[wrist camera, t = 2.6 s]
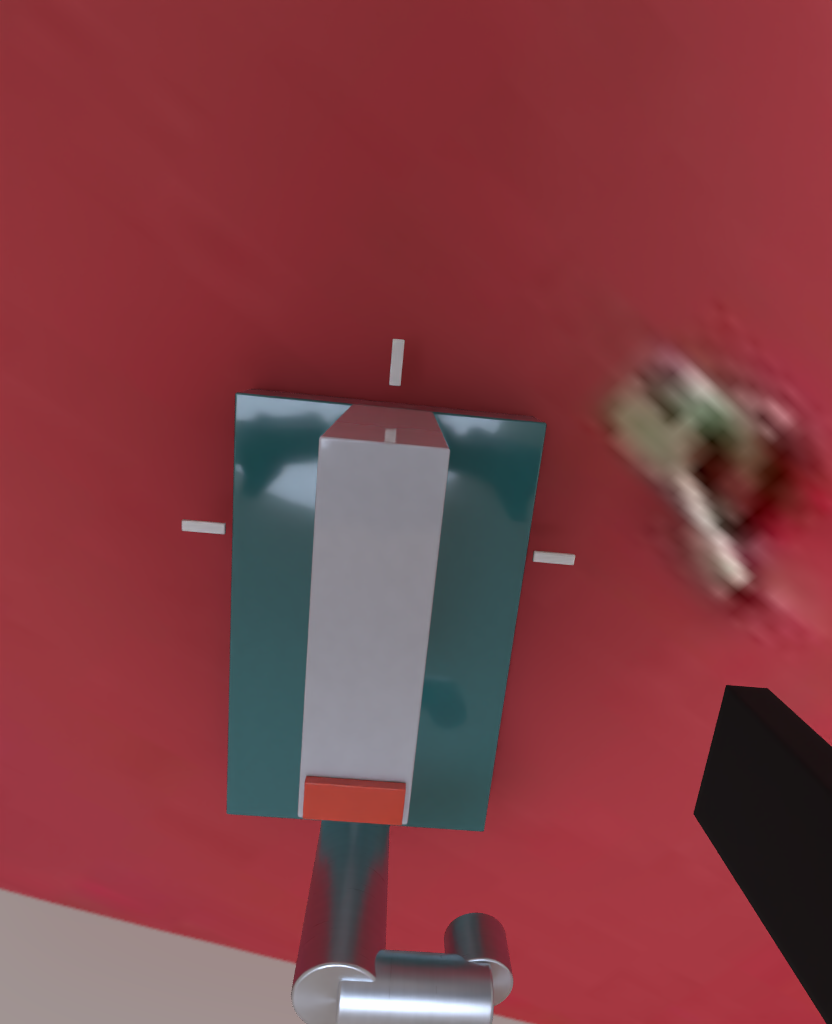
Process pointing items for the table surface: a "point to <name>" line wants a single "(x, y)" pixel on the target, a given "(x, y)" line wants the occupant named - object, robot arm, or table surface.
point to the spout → (362, 940)
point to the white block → (370, 611)
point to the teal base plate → (455, 612)
